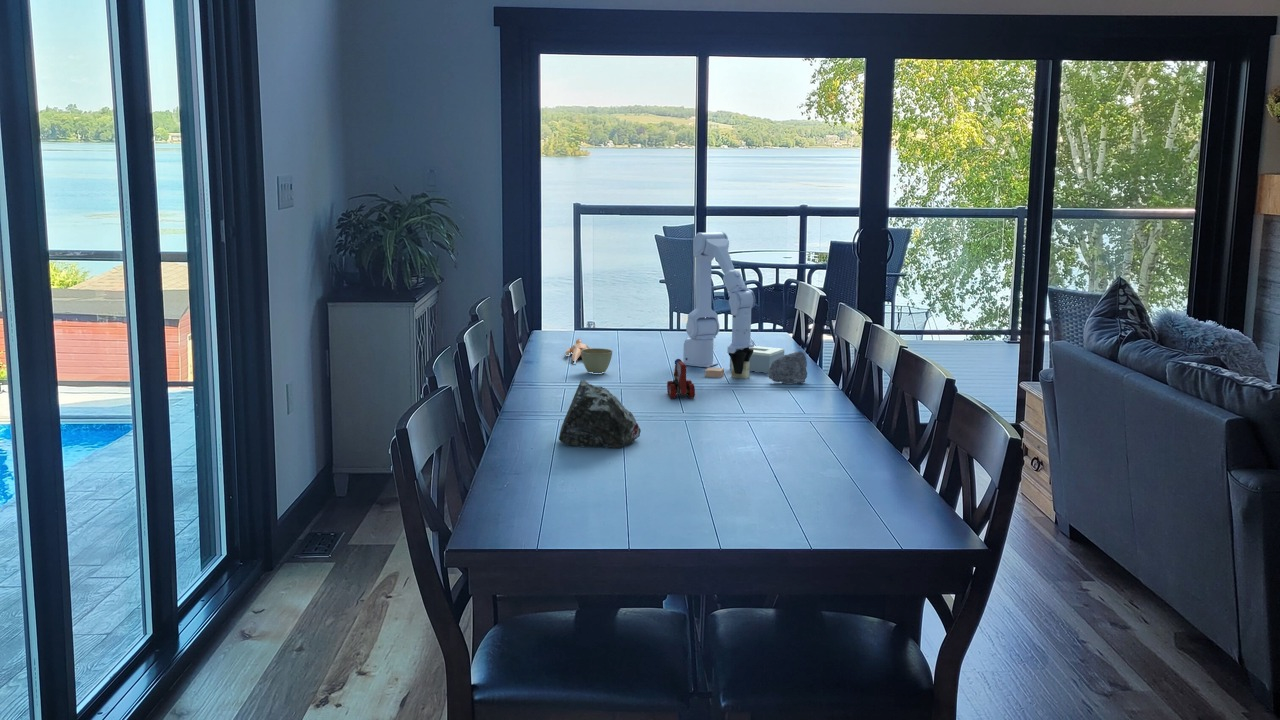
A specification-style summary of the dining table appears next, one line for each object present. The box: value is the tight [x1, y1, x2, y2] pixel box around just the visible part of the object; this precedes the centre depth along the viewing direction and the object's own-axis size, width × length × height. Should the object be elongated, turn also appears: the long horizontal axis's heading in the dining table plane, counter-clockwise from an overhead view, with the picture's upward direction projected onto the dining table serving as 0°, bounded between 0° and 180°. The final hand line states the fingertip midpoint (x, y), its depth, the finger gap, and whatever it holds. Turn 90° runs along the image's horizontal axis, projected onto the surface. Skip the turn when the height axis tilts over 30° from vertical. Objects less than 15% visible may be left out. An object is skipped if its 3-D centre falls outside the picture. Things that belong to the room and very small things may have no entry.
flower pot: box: [580, 347, 613, 373], centre depth 341 cm, size 10×10×7 cm
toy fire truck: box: [666, 358, 696, 400], centre depth 308 cm, size 7×12×10 cm, turn 6°
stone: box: [558, 379, 641, 449], centre depth 255 cm, size 19×18×15 cm
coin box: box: [729, 345, 785, 374], centre depth 351 cm, size 14×11×6 cm
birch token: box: [730, 361, 750, 380], centre depth 336 cm, size 5×2×5 cm, turn 58°
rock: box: [767, 350, 808, 384], centre depth 328 cm, size 12×5×10 cm, turn 87°
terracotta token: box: [704, 367, 725, 379], centre depth 339 cm, size 5×5×2 cm
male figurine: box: [564, 338, 591, 362], centre depth 368 cm, size 11×5×25 cm
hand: (740, 372), depth 337 cm, fingers closed on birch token, 2 cm apart
